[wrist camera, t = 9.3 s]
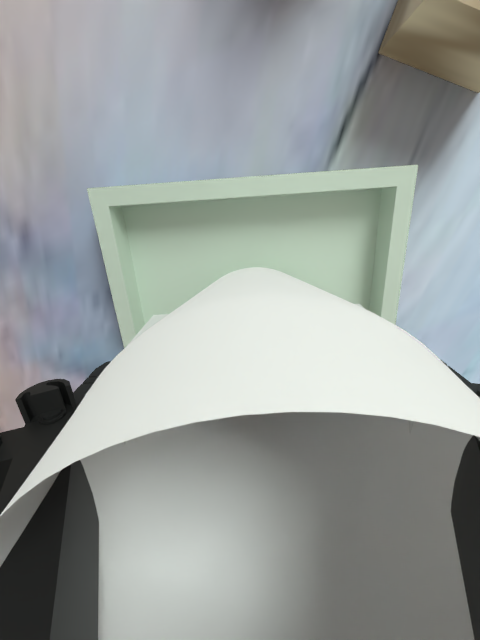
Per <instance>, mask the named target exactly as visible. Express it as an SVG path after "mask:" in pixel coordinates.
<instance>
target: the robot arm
mask: <svg viewBox="0 0 480 640" xmlns="http://www.w3.org/2000/svg"><path fill="white" fill-rule="evenodd" d="M355 305H357V306H359V307H362V306H361V305H360V304H355ZM362 308H364V307H362ZM364 309H365V308H364ZM167 315H168V314H161V315H153V316H152V317H151V318H150V320H149V321H148V322H147V323H146V324H145V325H144V327H143V328H142V329H141V330H140V331H139V332H138V334H137V335H136V336H135V337H134V338H133V339H132V341H131V342H133V341H134V340H135V339H136V338H137V337H139V336H140V335H141V334H142V333H143V332H145V331H146V330H148V329H149V328H150V327H152V326H153V325H155V324H156V323H157V322H159V321H160V320H161V319H163V318H164V317H166V316H167ZM131 342H130V343H131ZM130 343H129V344H130ZM129 344H128V345H129ZM128 345H127V346H128ZM127 346H126V347H127ZM441 361H442V360H441ZM442 362H443V361H442ZM109 363H110V362H106V363H104V364H103V365H101V366H99V367H98V368H96V369H95V370H94V371H93V372H92V373H91V374H90V376H89V378H87V379H86V380H85V381H84V382H83V384H81V385H80V386H79V387H78V388H77V389H76V391H75V392H74V393H73V392H72V389H71V385H70V382H69V381H67V380H65V379H54V380H48V381H45V382H42V383H38V384H36V385H34V386H32V387H30V388H28V389H26V390H25V391H23V392H22V393H20V394H19V395H18V397H17V398H16V399H15V400H16V402H17V405H18V407H19V410H20V412H21V414H22V417H23V419H24V421H25V426H24V427H23V428H18V429H14V430H10V431H6V432H2V433H0V515H1V513H2V512H3V511H4V509H5V508H6V506H7V505H8V504H9V502H10V501H11V500H12V498H13V497H14V495H15V494H16V493H17V491H18V490H19V489H20V487H21V486H22V484H23V483H24V482H25V480H26V479H27V478H28V476H29V475H30V474H31V472H32V471H33V469H34V468H35V467H36V465H37V464H38V463H39V461H40V460H41V458H42V457H43V456H44V454H45V453H46V451H47V450H48V449H49V447H50V446H51V444H52V443H53V442H54V440H55V439H56V437H57V436H58V435H59V433H60V432H61V430H62V429H63V428H64V426H65V425H66V423H67V422H68V421H69V419H70V418H71V416H72V415H73V413H74V412H75V410H76V409H77V407H78V406H79V404H80V403H81V401H82V400H83V398H84V397H85V395H86V394H87V392H88V391H89V389H90V388H91V386H92V385H93V384H94V382H95V381H96V380H97V378H98V377H99V375H100V374H101V373H102V371H103V370H104V369H105V368H106V367H107V366H108V365H109ZM443 363H444V362H443ZM444 364H445V365H446V366H447V364H446V363H444ZM447 367H448V368H449V369H450V370H451V371H452V372H453V373H454V374H455V375H456V376H457V377H458V378H459V379H460V380H461V381H462V382H463V383H464V384H465V385H466V386H467V387H468V388H470V389H471V390H472V391H473V392H474V393H475V394H476V395H477V396H478V397H479V398H480V384H474V383H470V382H469V381H468V380H466V379H465V378H464V377H462V376H461V375H460V374H459V373H457V372H456V371H455V370H453V369H452V368H451V367H449V366H447ZM408 421H409V433H410V434H411V430H412V426H413V423H414V421H410V420H408ZM124 444H126V441H125V442H124ZM451 516H452V521H453V527H454V532H455V537H456V543H457V548H458V554H459V559H460V564H461V570H462V575H463V580H464V586H465V591H466V597H467V602H468V607H469V613H470V618H471V623H472V629H473V634H474V640H480V441H479V439H478V438H477V437H476V436H474V435H473V436H472V438H471V439H470V440H469V442H468V443H467V445H466V447H465V449H464V451H463V454H462V457H461V461H460V464H459V468H458V471H457V475H456V478H455V482H454V488H453V495H452V502H451ZM98 590H99V519H98V514H97V510H96V505H95V501H94V497H93V493H92V491H91V488H90V485H89V482H88V479H87V476H86V473H85V471H84V468H83V465H82V463H81V461H80V460H78V461H76V462H74V463H72V464H70V465H69V466H67V467H65V468H63V469H62V470H61V471H60V473H59V474H58V476H57V478H56V479H55V481H54V483H53V484H52V486H51V488H50V489H49V491H48V492H47V494H46V496H45V497H44V499H43V500H42V502H41V504H40V505H39V507H38V508H37V510H36V512H35V513H34V515H33V516H32V518H31V520H30V521H29V523H28V524H27V526H26V528H25V529H24V531H23V532H22V534H21V535H20V537H19V539H18V540H17V542H16V543H15V545H14V546H13V548H12V549H11V551H10V553H9V554H8V556H7V557H6V559H5V560H4V562H3V564H2V565H1V567H0V640H98Z"/></svg>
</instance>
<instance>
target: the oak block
mask: <svg viewBox="0 0 480 640" xmlns="http://www.w3.org/2000/svg"><path fill="white" fill-rule="evenodd" d="M378 53H379V54H381V55H384V56H386V57H389V58H391V59H394V60H396V61H399V62H401V63H404V64H406V65H409V66H411V67H414V68H416V69H419V70H421V71H424V72H427V73H429V74H432V75H434V76H437V77H439V78H442V79H444V80H447V81H449V82H452V83H454V84H457V85H459V86H462V87H464V88H467V89H469V90H472V91H474V92H477V93H479V92H480V0H398V2H397V5H396V7H395V10H394V13H393V15H392V18H391V20H390V23H389V26H388V28H387V31H386V34H385V36H384V39H383V42H382V44H381V47H380V49H379V52H378Z"/></svg>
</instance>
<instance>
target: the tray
mask: <svg viewBox="0 0 480 640" xmlns="http://www.w3.org/2000/svg"><path fill="white" fill-rule="evenodd" d="M417 170H418V165H406V166H392V167H378V168H364V169H350V170H336V171H322V172H309V173H295V174H281V175H267V176H253V177H239V178H225V179H211V180H197V181H183V182H169V183H155V184H141V185H127V186H113V187H99V188H87V191H88V195H89V199H90V204H91V208H92V212H93V217H94V221H95V225H96V229H97V234H98V238H99V242H100V247H101V251H102V255H103V259H104V264H105V268H106V272H107V277H108V281H109V285H110V289H111V294H112V298H113V302H114V307H115V311H116V315H117V319H118V324H119V328H120V332H121V337H122V341H123V345H124V349H125V348H126V346H127V345H128V344H129V343H130V342H131V341H132V339H133V338H134V337H135V336H136V335H137V334H138V332H139V331H140V330H141V329H142V328H143V327H144V325H145V324H146V323H147V322H148V321H149V320H150V318H151V317H152V316H153V315H161V314H170V313H171V312H173V311H174V310H175V309H177V308H178V307H180V306H181V305H183V304H184V303H185V302H187V301H188V300H190V299H191V298H192V297H194V296H195V295H197V294H198V293H199V292H201V291H202V290H204V289H205V288H207V287H208V286H209V285H211V284H212V283H214V282H215V281H216V280H218V279H219V278H221V277H223V276H224V275H226V274H228V273H231V272H233V271H236V270H240V269H244V268H252V267H262V268H270V269H274V270H277V271H280V272H283V273H285V274H287V275H290V276H292V277H294V278H297V279H299V280H301V281H303V282H306V283H308V284H310V285H312V286H315V287H317V288H319V289H321V290H324V291H326V292H328V293H331V294H333V295H335V296H337V297H340V298H342V299H344V300H346V301H348V302H351V303H353V304H360V305H361V306H362V307H364V308H365V309H366V310H368V311H371V312H373V313H375V314H376V315H378V316H380V317H382V318H384V319H385V320H387V321H389V322H391V323H393V324H394V325H395V324H396V317H397V310H398V303H399V296H400V289H401V282H402V275H403V268H404V261H405V254H406V247H407V240H408V233H409V226H410V219H411V212H412V205H413V198H414V191H415V184H416V177H417Z"/></svg>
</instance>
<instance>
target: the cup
mask: <svg viewBox="0 0 480 640" xmlns="http://www.w3.org/2000/svg"><path fill="white" fill-rule="evenodd" d="M408 420H410V421H414V423H413V426H412V430H411V434H410V433H409V421H408ZM473 435H474V436H476V437H477V438H478V439H479V441H480V398H479V397H478V396H477V395H476V394H475V393H474V392H473V391H472V390H471V389H470V388H468V387H467V386H466V385H465V384H464V383H463V382H462V381H461V380H460V379H459V378H458V377H457V376H456V375H455V374H454V373H453V372H452V371H451V370H450V369H449V368H448V367H447V366H446V365H445V364H444V363H443V362H442V361H441V360H440V359H439V358H438V357H437V356H436V355H435V354H434V353H432V352H431V351H430V350H429V349H428V348H427V347H426V346H425V345H424V344H423V343H421V342H420V341H418V340H417V339H416V338H414V337H413V336H412V335H410V334H409V333H407V332H406V331H404V330H403V329H401V328H399V327H398V326H396V325H394V324H393V323H391V322H389V321H387V320H385V319H384V318H382V317H380V316H378V315H376V314H375V313H373V312H371V311H368V310H366V309H364V308H362V307H359V306H357V305H355V304H353V303H351V302H348V301H346V300H344V299H342V298H340V297H337V296H335V295H333V294H331V293H328V292H326V291H324V290H321V289H319V288H317V287H315V286H312V285H310V284H308V283H306V282H303V281H301V280H299V279H297V278H294V277H292V276H290V275H287V274H285V273H283V272H280V271H277V270H274V269H270V268H262V267H252V268H244V269H240V270H236V271H233V272H231V273H228V274H226V275H224V276H223V277H221V278H219V279H218V280H216V281H215V282H214V283H212V284H211V285H209V286H208V287H207V288H205V289H204V290H202V291H201V292H199V293H198V294H197V295H195V296H194V297H192V298H191V299H190V300H188V301H187V302H185V303H184V304H183V305H181V306H180V307H178V308H177V309H175V310H174V311H173V312H171V313H170V314H168V315H167V316H166V317H164V318H163V319H161V320H160V321H159V322H157V323H156V324H155V325H153V326H152V327H150V328H149V329H148V330H146V331H145V332H143V333H142V334H141V335H140V336H139V337H137V338H136V339H135V340H134V341H133V342H131V343H130V344H129V345H128V346H127V347H126V348H125V349H124V350H122V351H121V352H120V353H119V354H118V355H117V356H116V357H115V358H114V359H113V360H112V361H111V362H110V363H109V365H108V366H107V367H106V368H105V369H104V370H103V371H102V373H101V374H100V375H99V377H98V378H97V380H96V381H95V382H94V384H93V385H92V386H91V388H90V389H89V391H88V392H87V394H86V395H85V397H84V398H83V400H82V401H81V403H80V404H79V406H78V407H77V409H76V410H75V412H74V413H73V415H72V416H71V418H70V419H69V421H68V422H67V423H66V425H65V426H64V428H63V429H62V430H61V432H60V433H59V435H58V436H57V437H56V439H55V440H54V442H53V443H52V444H51V446H50V447H49V449H48V450H47V451H46V453H45V454H44V456H43V457H42V458H41V460H40V461H39V463H38V464H37V465H36V467H35V468H34V469H33V471H32V472H31V474H30V475H29V476H28V478H27V479H26V480H25V482H24V483H23V484H22V486H21V487H20V489H19V490H18V491H17V493H16V494H15V495H14V497H13V498H12V500H11V501H10V502H9V504H8V505H7V506H6V508H5V509H4V511H3V512H2V513H1V515H0V567H1V565H2V564H3V562H4V560H5V559H6V557H7V556H8V554H9V553H10V551H11V549H12V548H13V546H14V545H15V543H16V542H17V540H18V539H19V537H20V535H21V534H22V532H23V531H24V529H25V528H26V526H27V524H28V523H29V521H30V520H31V518H32V516H33V515H34V513H35V512H36V510H37V508H38V507H39V505H40V504H41V502H42V500H43V499H44V497H45V496H46V494H47V492H48V491H49V489H50V488H51V486H52V484H53V483H54V481H55V479H56V478H57V476H58V474H59V473H60V471H61V470H62V469H63V468H65V467H67V466H69V465H70V464H72V463H74V462H76V461H78V460H80V461H81V463H82V465H83V468H84V471H85V473H86V476H87V479H88V482H89V485H90V488H91V491H92V493H93V497H94V501H95V505H96V510H97V514H98V519H99V590H98V640H474V634H473V629H472V623H471V618H470V613H469V607H468V602H467V597H466V591H465V586H464V580H463V575H462V570H461V564H460V559H459V554H458V548H457V543H456V537H455V532H454V527H453V521H452V516H451V502H452V495H453V488H454V482H455V478H456V475H457V471H458V468H459V464H460V461H461V457H462V454H463V451H464V449H465V447H466V445H467V443H468V442H469V440H470V439H471V438H472V436H473ZM125 441H126V444H124V442H125Z"/></svg>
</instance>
